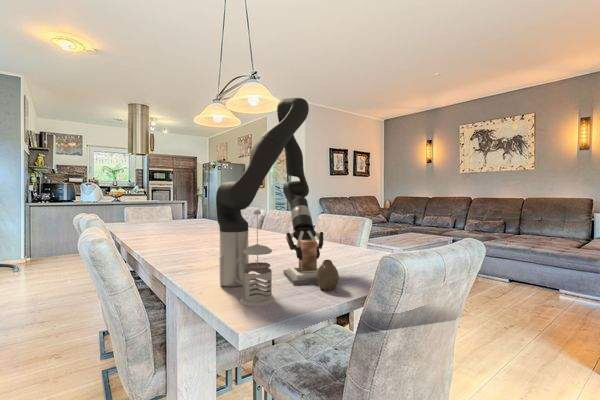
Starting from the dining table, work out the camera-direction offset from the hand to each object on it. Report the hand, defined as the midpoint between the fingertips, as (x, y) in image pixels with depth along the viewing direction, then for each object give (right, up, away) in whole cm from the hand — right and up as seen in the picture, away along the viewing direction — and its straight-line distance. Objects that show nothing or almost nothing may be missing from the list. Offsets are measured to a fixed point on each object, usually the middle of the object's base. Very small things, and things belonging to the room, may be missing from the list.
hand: (309, 258), depth 106 cm
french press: (-16, -8, -20) cm, 27 cm away
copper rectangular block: (0, -4, +2) cm, 5 cm away
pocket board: (0, -7, +2) cm, 7 cm away
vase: (+5, -8, -10) cm, 14 cm away
